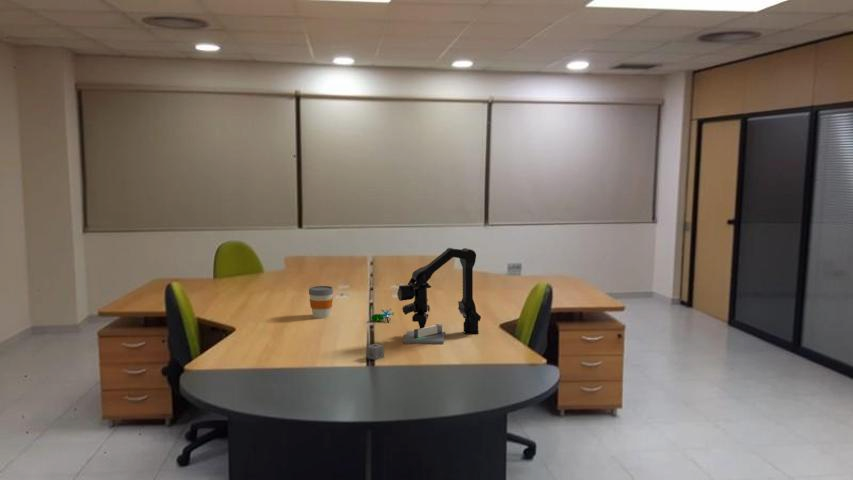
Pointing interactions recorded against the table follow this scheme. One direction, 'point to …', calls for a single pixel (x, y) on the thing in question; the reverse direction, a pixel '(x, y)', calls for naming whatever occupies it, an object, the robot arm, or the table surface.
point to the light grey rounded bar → (428, 331)
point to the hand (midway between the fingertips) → (421, 331)
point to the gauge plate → (424, 338)
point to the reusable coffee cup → (321, 301)
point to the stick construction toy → (382, 316)
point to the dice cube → (375, 351)
